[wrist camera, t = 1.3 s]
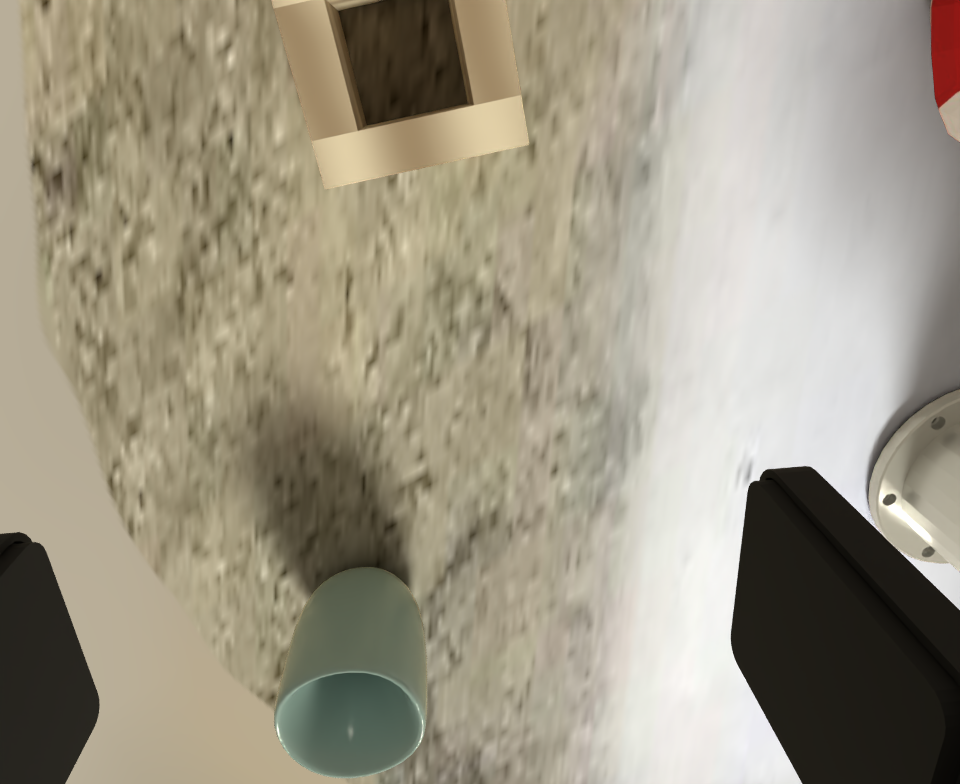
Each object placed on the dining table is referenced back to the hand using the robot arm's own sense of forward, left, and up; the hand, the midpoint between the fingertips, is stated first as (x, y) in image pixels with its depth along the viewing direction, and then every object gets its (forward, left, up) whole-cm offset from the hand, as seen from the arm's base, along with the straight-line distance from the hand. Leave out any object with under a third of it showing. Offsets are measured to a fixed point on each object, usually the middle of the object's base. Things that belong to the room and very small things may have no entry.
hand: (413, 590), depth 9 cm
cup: (+9, +22, -29) cm, 38 cm away
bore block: (-1, -8, -29) cm, 30 cm away
